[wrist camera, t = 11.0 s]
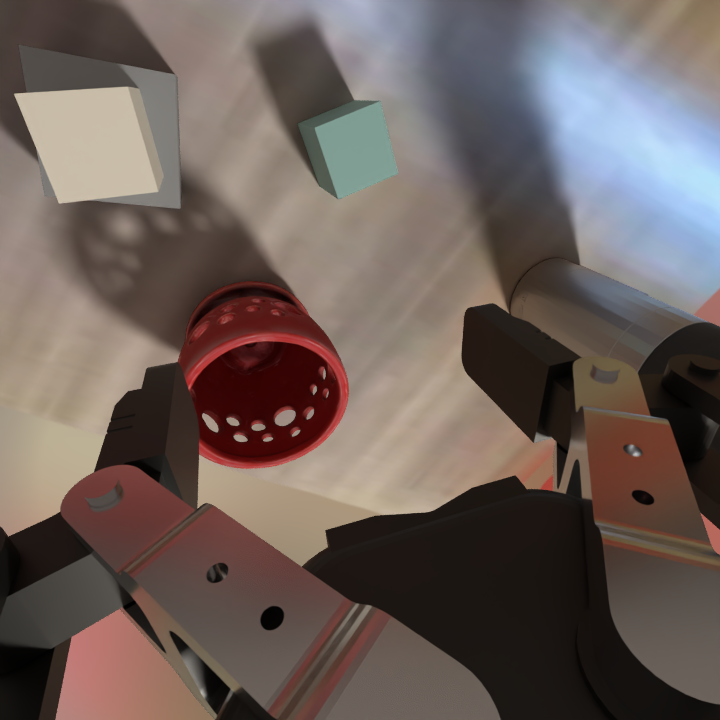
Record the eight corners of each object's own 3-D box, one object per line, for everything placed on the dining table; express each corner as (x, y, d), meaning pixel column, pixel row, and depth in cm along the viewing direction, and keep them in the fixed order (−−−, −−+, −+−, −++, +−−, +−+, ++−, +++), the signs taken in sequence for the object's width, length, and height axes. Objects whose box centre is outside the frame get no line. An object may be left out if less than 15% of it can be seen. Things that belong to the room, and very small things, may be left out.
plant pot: (146, 310, 38) (130, 384, 28) (283, 247, 39) (314, 297, 29) (221, 412, 45) (229, 499, 36) (334, 358, 47) (372, 427, 37)
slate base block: (177, 77, 31) (175, 74, 27) (181, 195, 35) (180, 208, 31) (43, 52, 28) (18, 44, 24) (63, 183, 32) (44, 196, 28)
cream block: (139, 88, 27) (127, 86, 22) (163, 176, 29) (158, 191, 24) (47, 94, 25) (13, 93, 21) (81, 185, 28) (59, 203, 23)
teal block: (354, 100, 35) (380, 101, 30) (371, 163, 38) (398, 173, 33) (297, 123, 34) (314, 127, 30) (319, 186, 37) (338, 199, 32)
